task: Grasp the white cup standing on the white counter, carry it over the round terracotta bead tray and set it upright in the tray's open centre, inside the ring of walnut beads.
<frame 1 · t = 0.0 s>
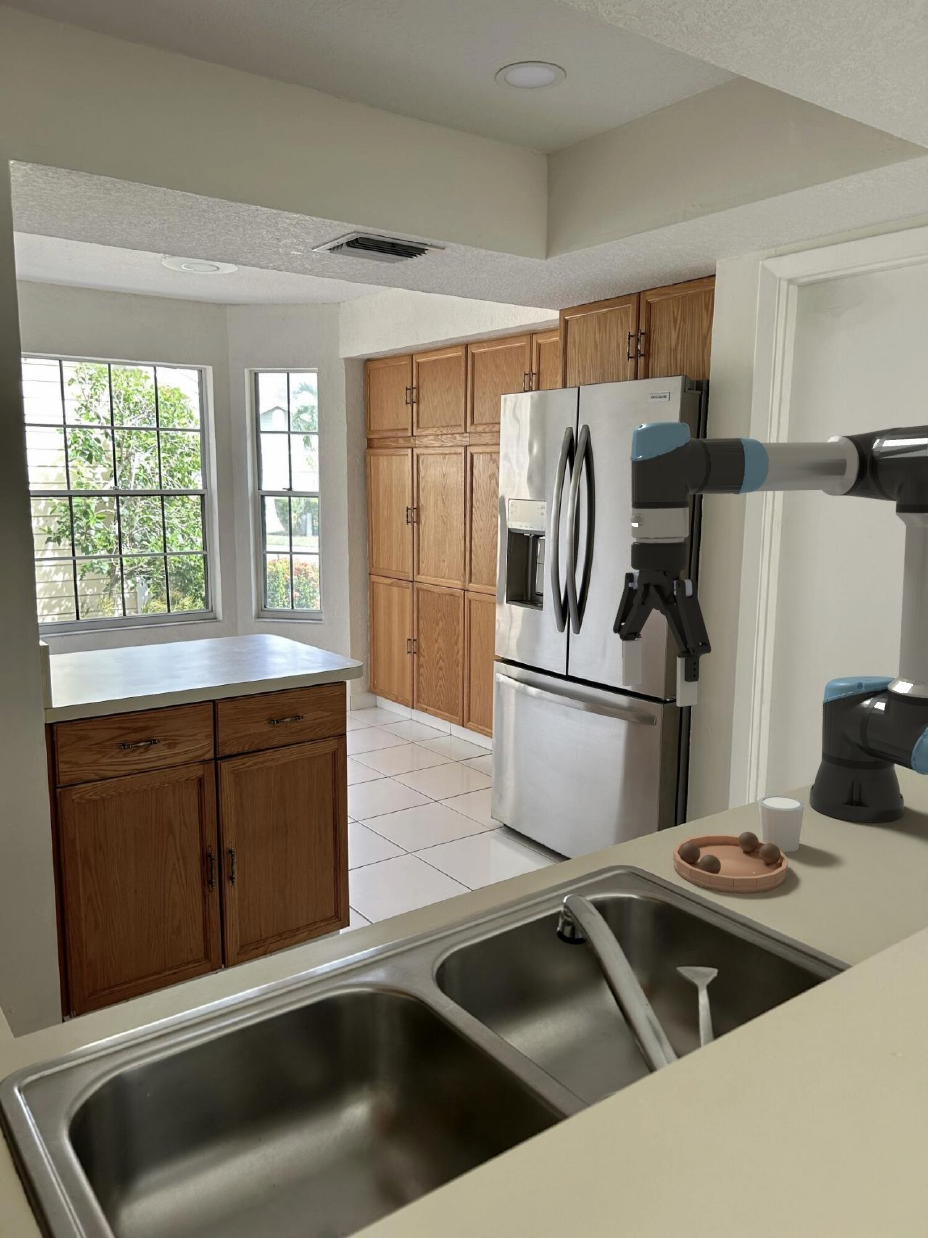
hand: (658, 694, 126), 28 cm above the countertop, fingers open, 13 cm apart
tray: (729, 869, 135), on the countertop
bead 4: (748, 841, 139), point 2 cm above the countertop, touching tray
bead 3: (689, 853, 135), point 2 cm above the countertop, touching tray
bead 2: (769, 853, 134), point 2 cm above the countertop, touching tray
bead 1: (710, 865, 130), point 2 cm above the countertop, touching tray
white cup: (779, 846, 144), on the countertop
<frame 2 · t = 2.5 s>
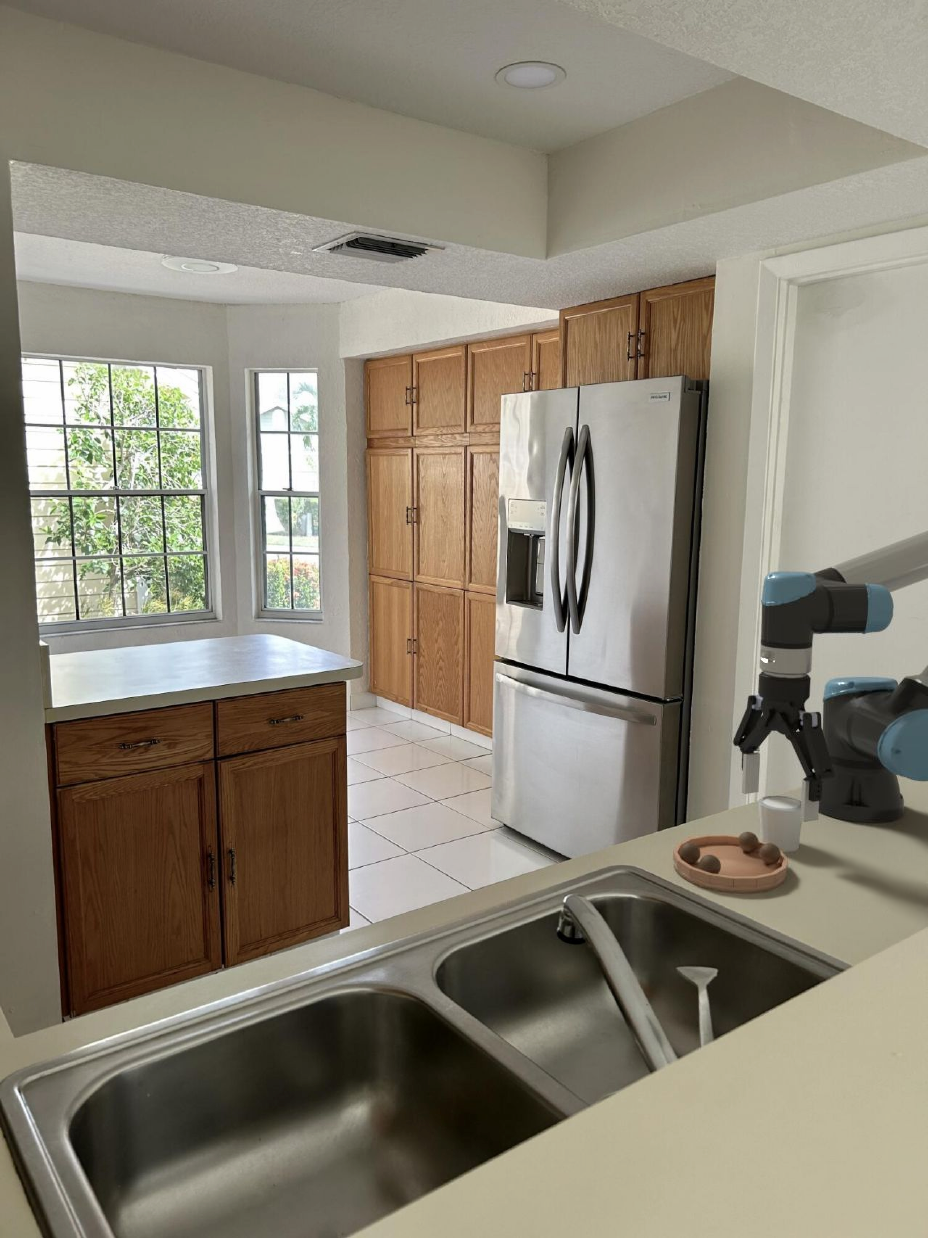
hand: (778, 806, 143), 6 cm above the countertop, fingers open, 13 cm apart
nothing on the countertop moved.
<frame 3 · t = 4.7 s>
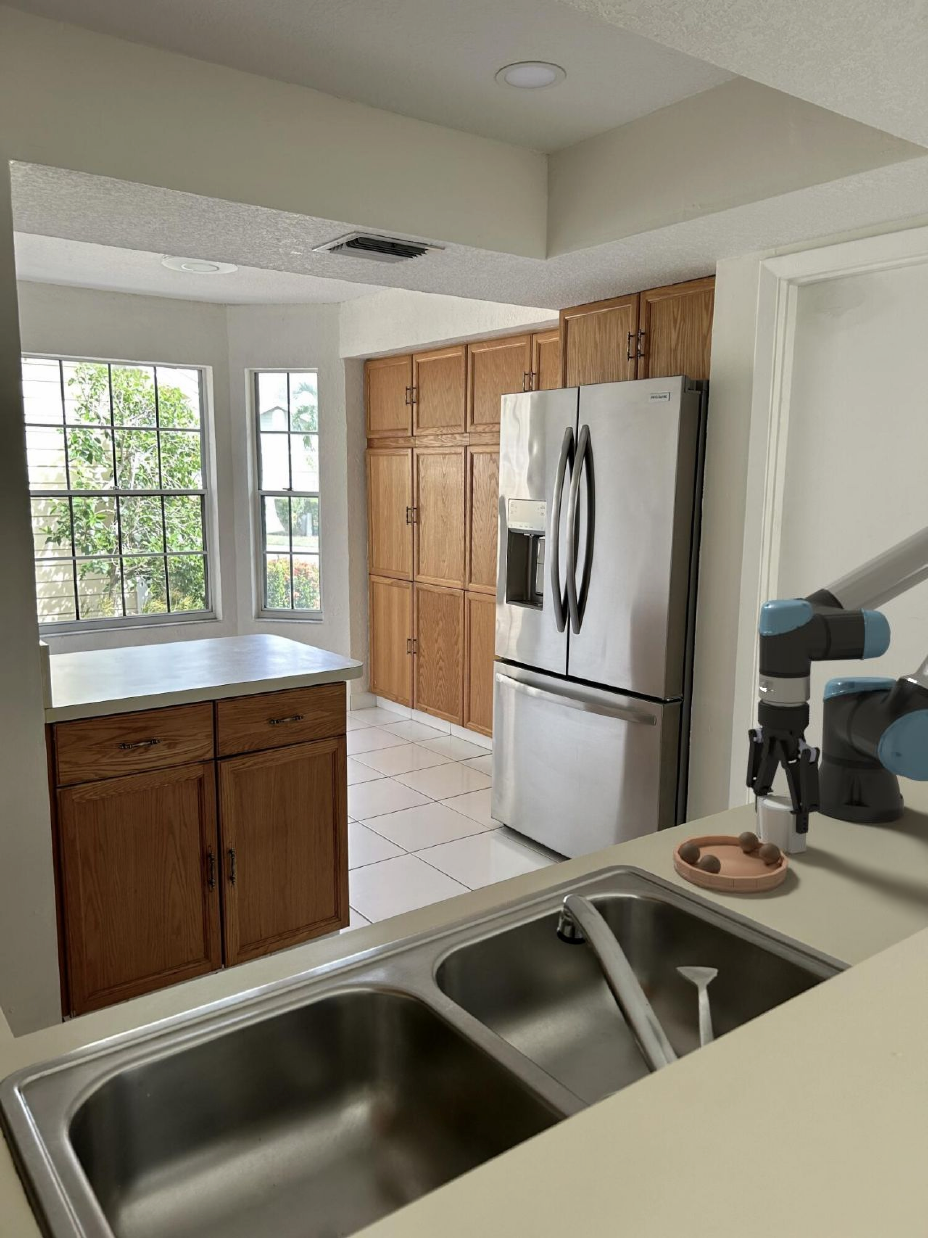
hand: (780, 842, 144), 0 cm above the countertop, fingers closed on white cup, 7 cm apart
white cup: (779, 846, 144), on the countertop, touching gripper
everything else where it was.
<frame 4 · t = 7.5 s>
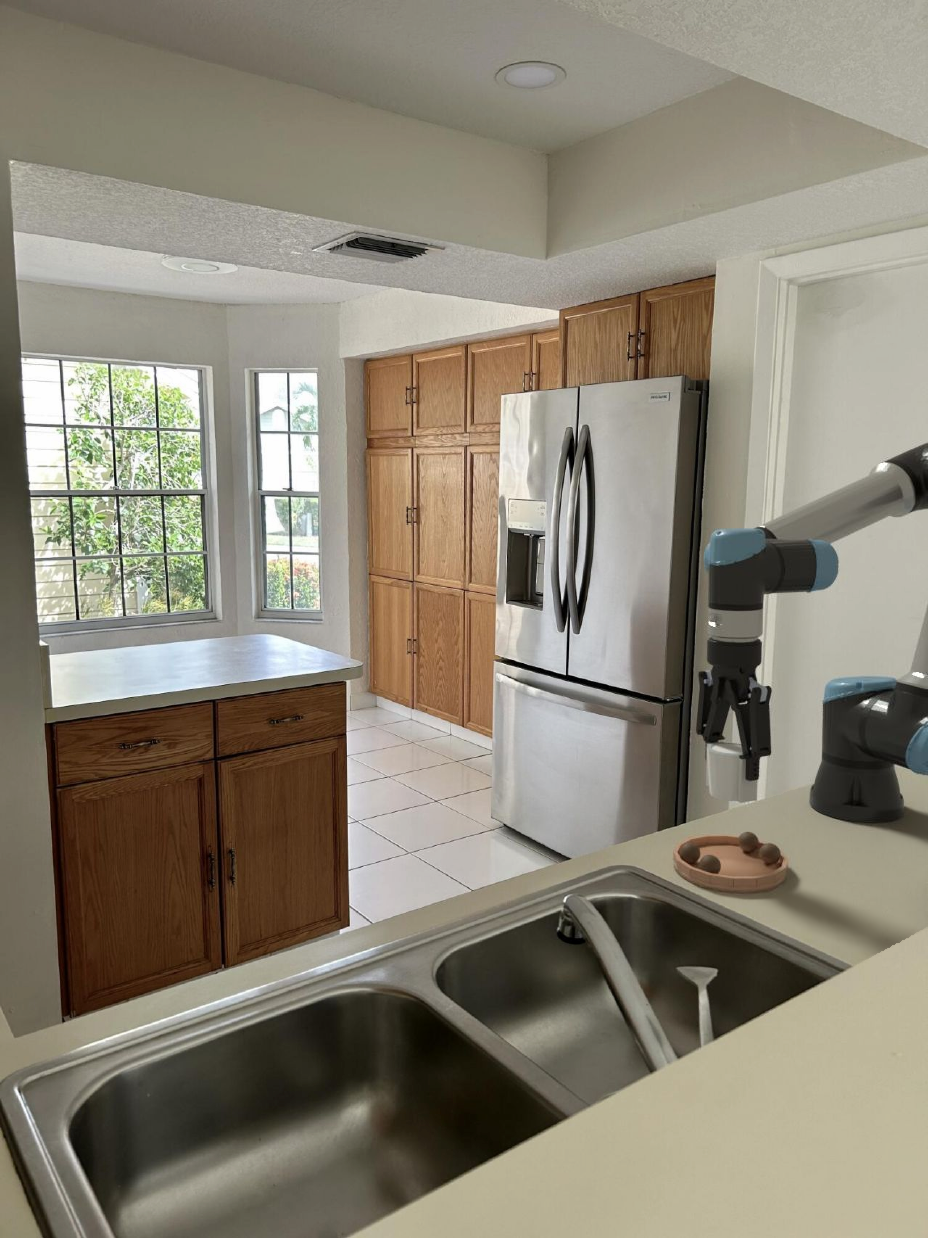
hand: (730, 792, 133), 12 cm above the countertop, fingers closed on white cup, 7 cm apart
white cup: (729, 796, 133), point 11 cm above the countertop, touching gripper
everything else where it was.
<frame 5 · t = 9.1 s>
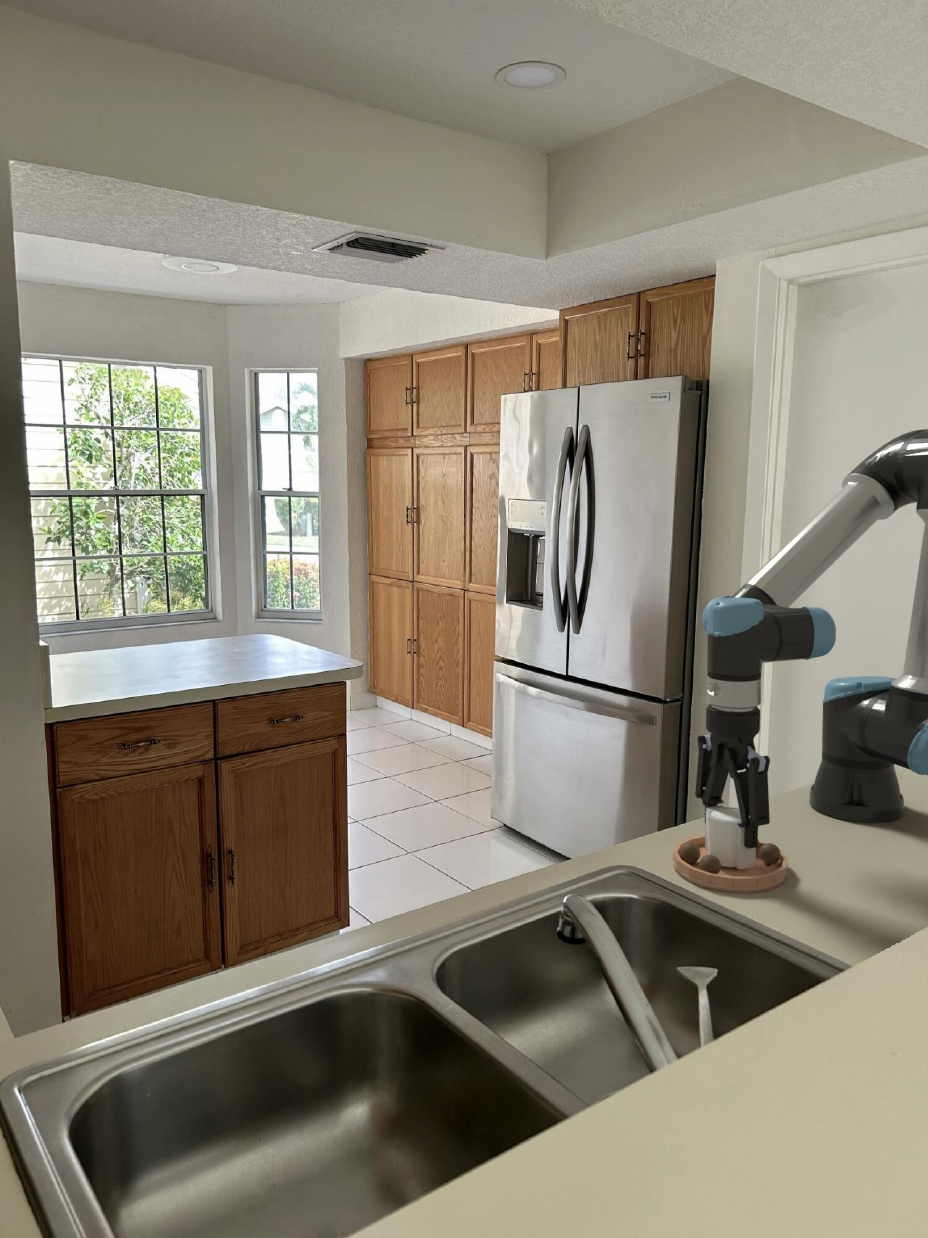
hand: (729, 857, 135), 2 cm above the countertop, fingers closed on white cup, 7 cm apart
white cup: (728, 860, 135), point 1 cm above the countertop, touching gripper
everything else where it was.
when the fingers open (1 cm above the countertop, at t = 10.3 s): white cup stays where it is, resting on tray.
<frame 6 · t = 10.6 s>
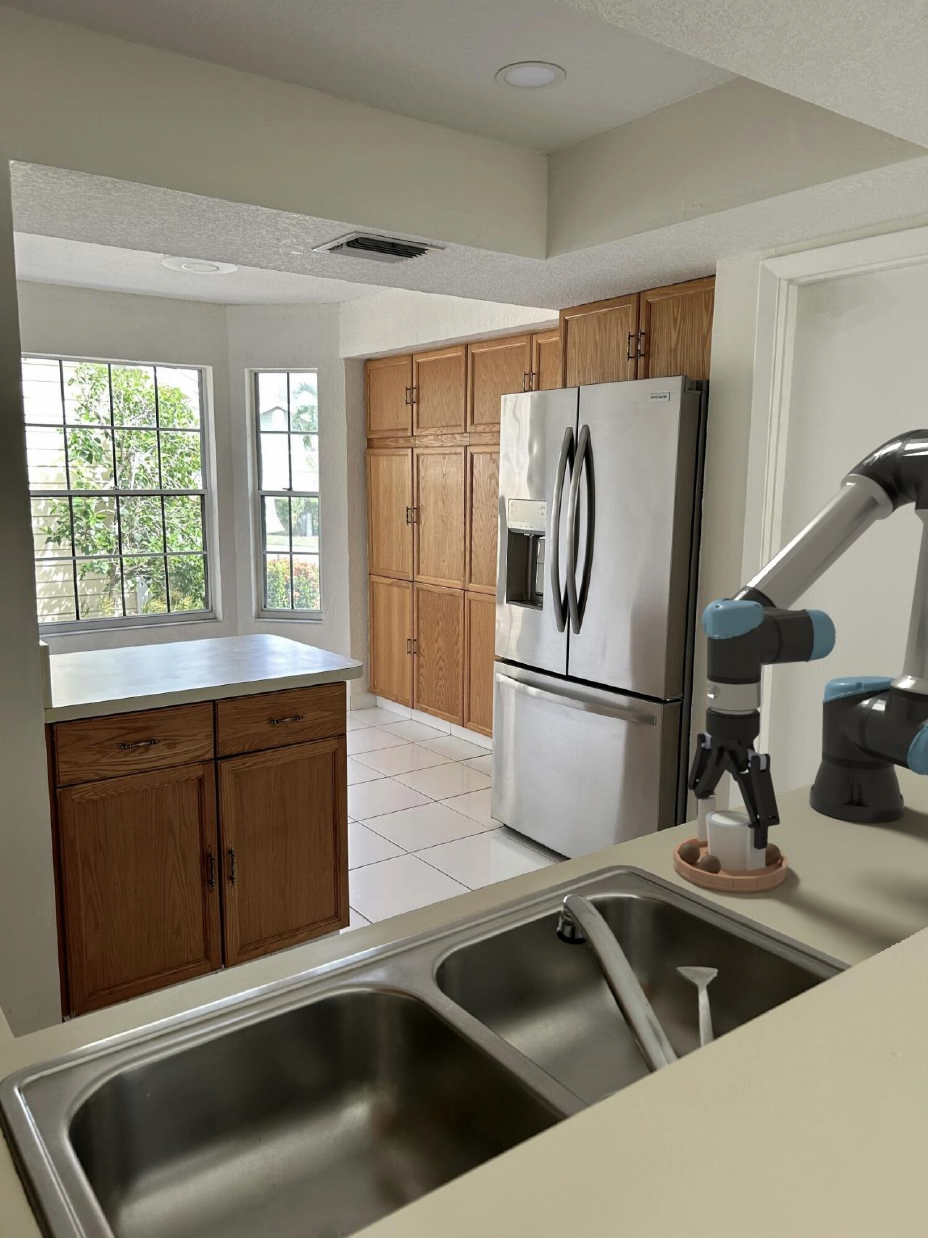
hand: (729, 853, 135), 2 cm above the countertop, fingers open, 11 cm apart
white cup: (728, 864, 135), point 1 cm above the countertop, touching tray
everything else where it was.
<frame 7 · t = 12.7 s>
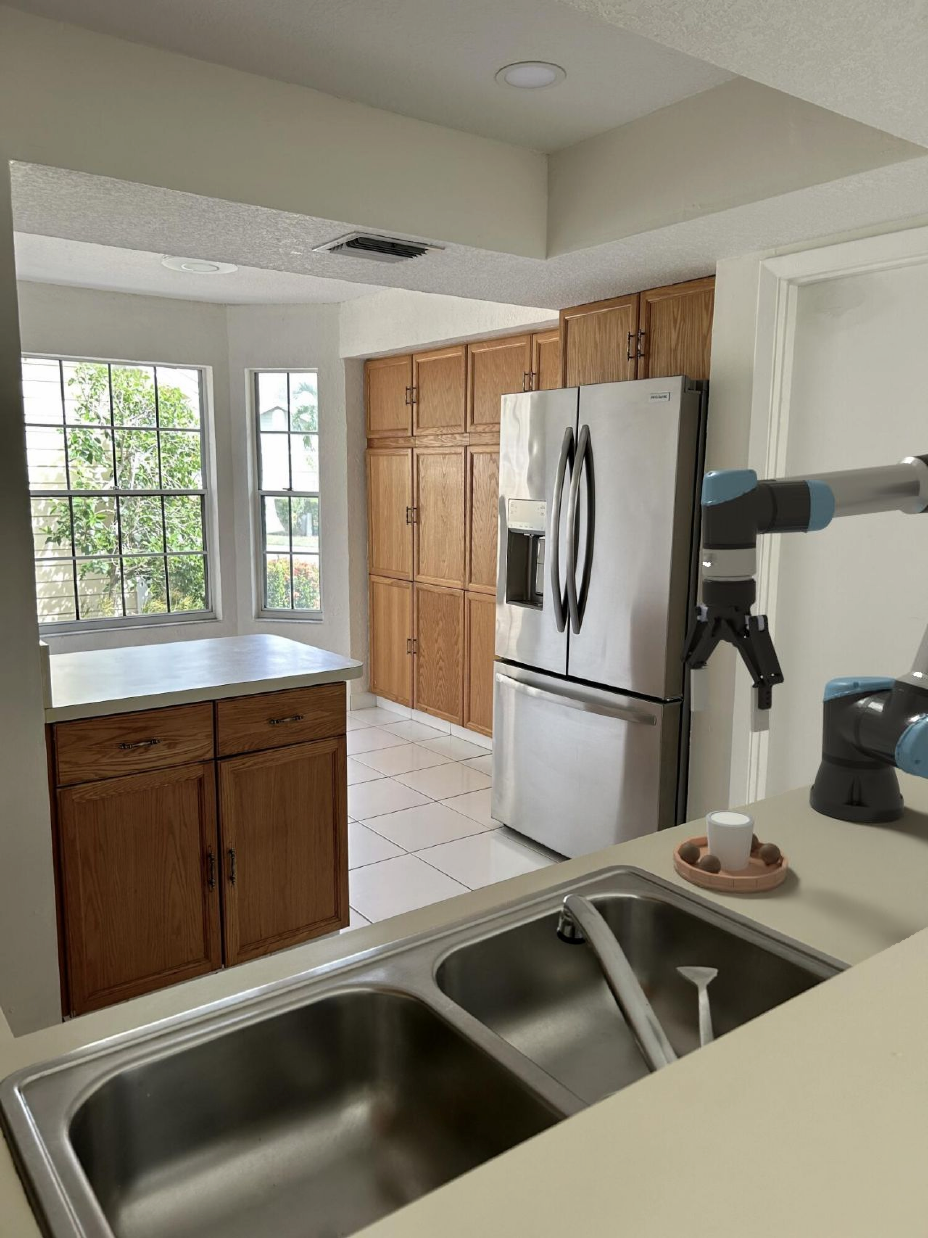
hand: (728, 720, 135), 22 cm above the countertop, fingers open, 13 cm apart
nothing on the countertop moved.
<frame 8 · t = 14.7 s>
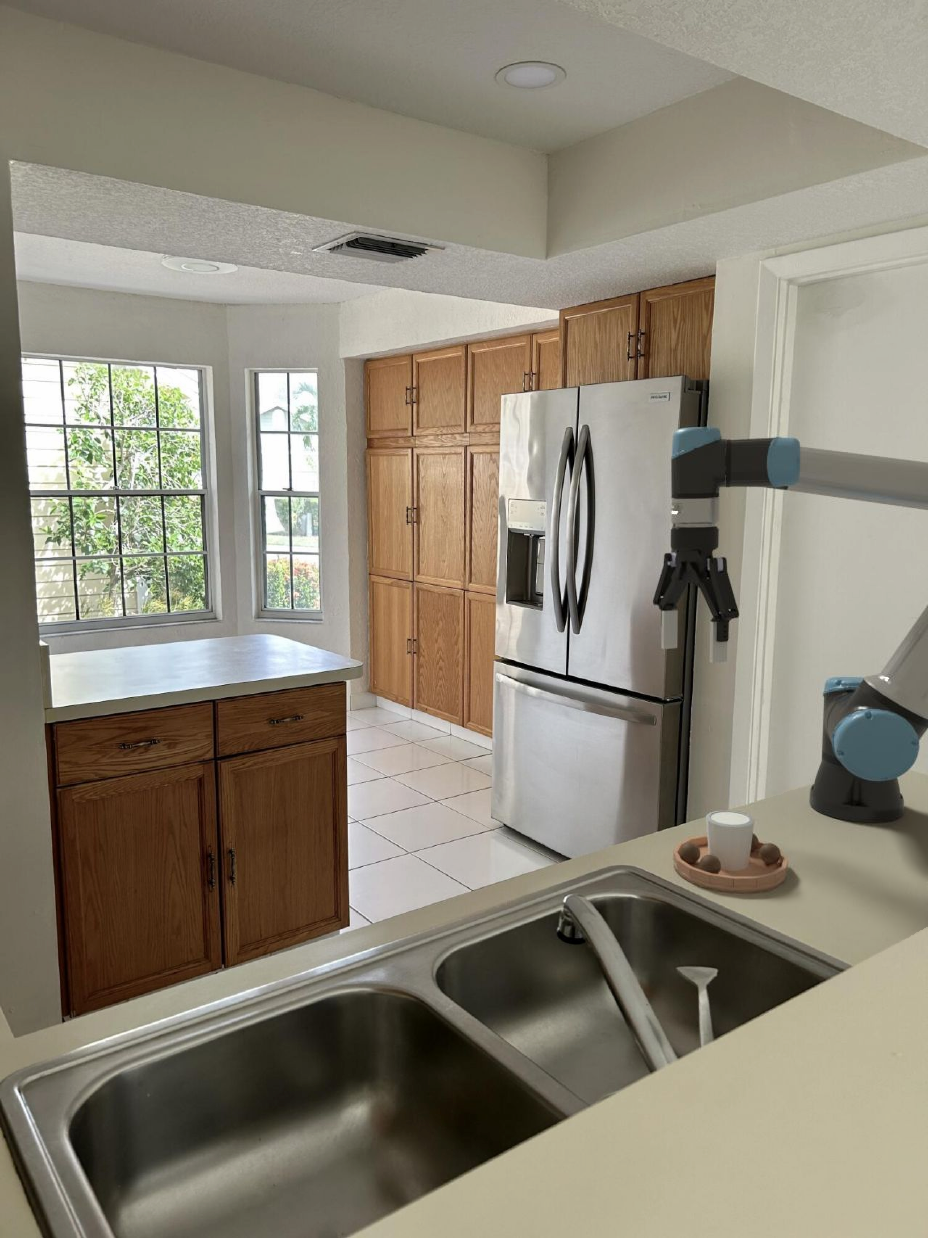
hand: (692, 654, 150), 29 cm above the countertop, fingers open, 13 cm apart
nothing on the countertop moved.
at the end: white cup 0.1 cm off-centre on the tray, point 0.8 cm above the tray's base; white cup tilted 0°; the gripper is holding nothing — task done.
